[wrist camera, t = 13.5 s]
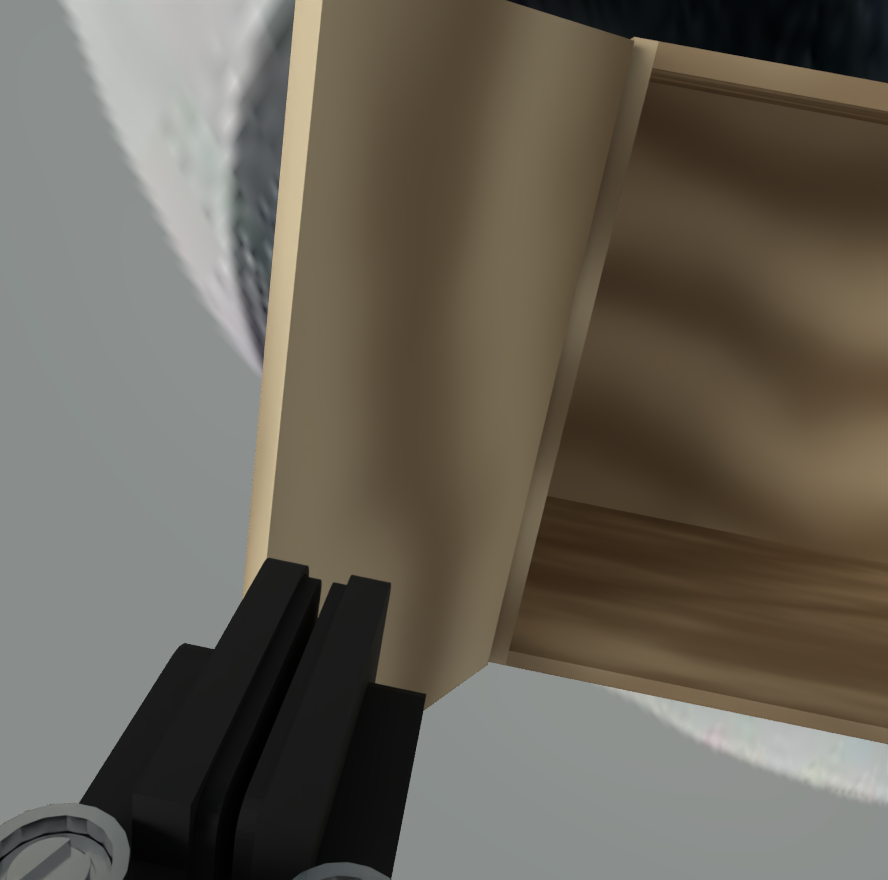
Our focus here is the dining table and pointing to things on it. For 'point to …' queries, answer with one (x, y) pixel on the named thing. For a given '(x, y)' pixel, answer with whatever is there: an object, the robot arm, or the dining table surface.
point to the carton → (722, 405)
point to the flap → (423, 302)
